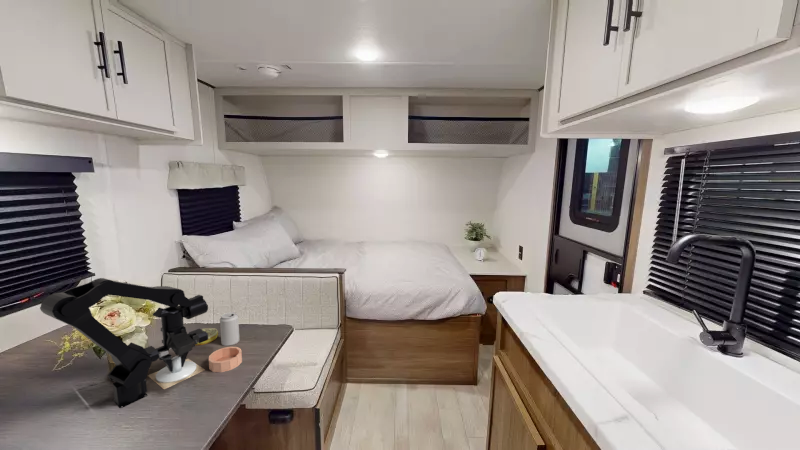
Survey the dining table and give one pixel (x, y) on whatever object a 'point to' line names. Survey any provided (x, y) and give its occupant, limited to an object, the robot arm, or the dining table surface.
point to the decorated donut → (209, 335)
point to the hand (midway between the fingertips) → (176, 368)
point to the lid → (176, 371)
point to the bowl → (225, 359)
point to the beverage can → (229, 328)
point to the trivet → (166, 385)
